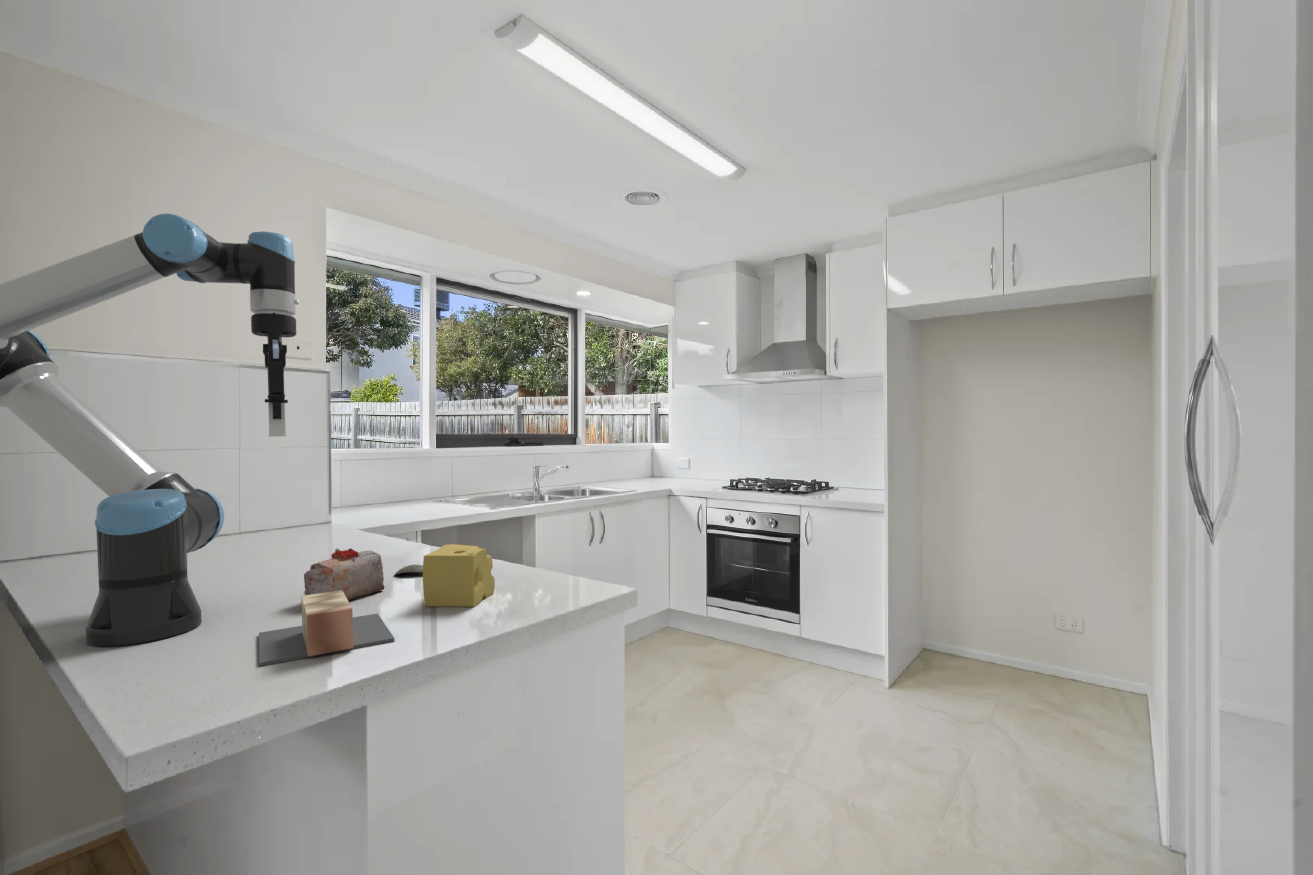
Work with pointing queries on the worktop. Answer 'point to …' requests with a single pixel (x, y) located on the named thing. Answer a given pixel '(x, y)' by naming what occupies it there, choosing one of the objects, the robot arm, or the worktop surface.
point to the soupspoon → (410, 569)
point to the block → (327, 622)
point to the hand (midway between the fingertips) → (277, 436)
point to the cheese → (457, 576)
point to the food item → (346, 574)
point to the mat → (292, 645)
